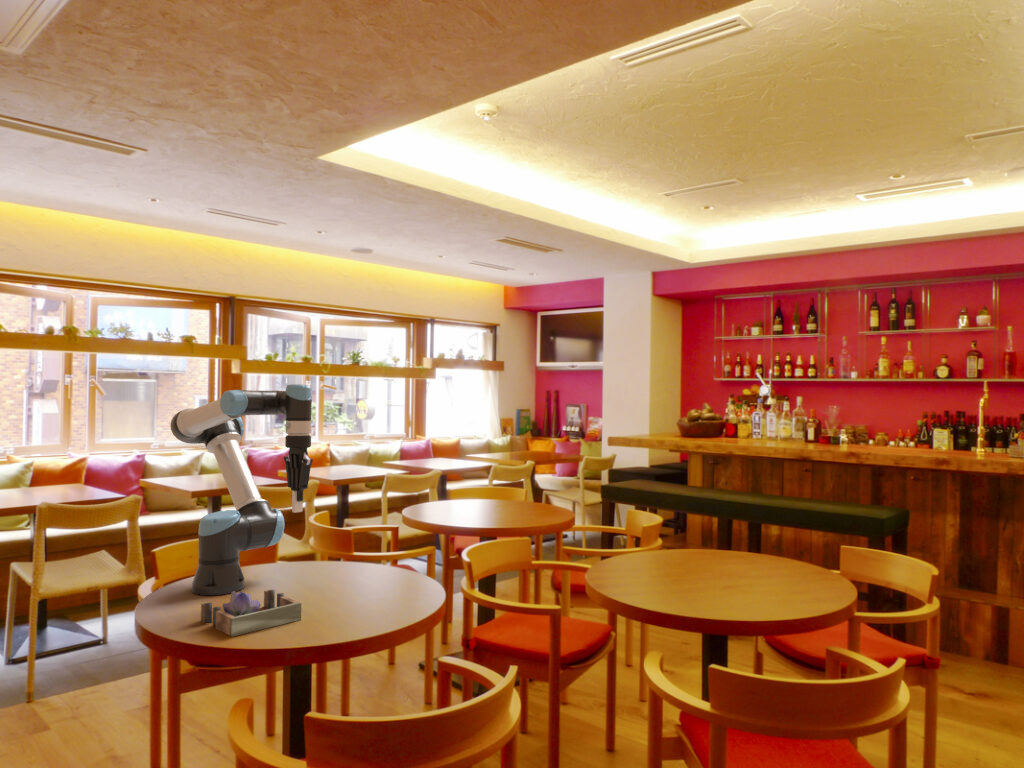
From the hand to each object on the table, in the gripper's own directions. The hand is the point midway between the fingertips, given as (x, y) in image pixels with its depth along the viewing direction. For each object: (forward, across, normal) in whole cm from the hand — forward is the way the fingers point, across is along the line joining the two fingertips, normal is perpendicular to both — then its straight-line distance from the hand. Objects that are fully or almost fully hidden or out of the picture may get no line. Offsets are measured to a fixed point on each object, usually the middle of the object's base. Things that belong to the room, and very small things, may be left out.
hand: (297, 511), depth 216 cm
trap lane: (+24, +16, -22) cm, 37 cm away
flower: (+25, +18, -26) cm, 40 cm away
